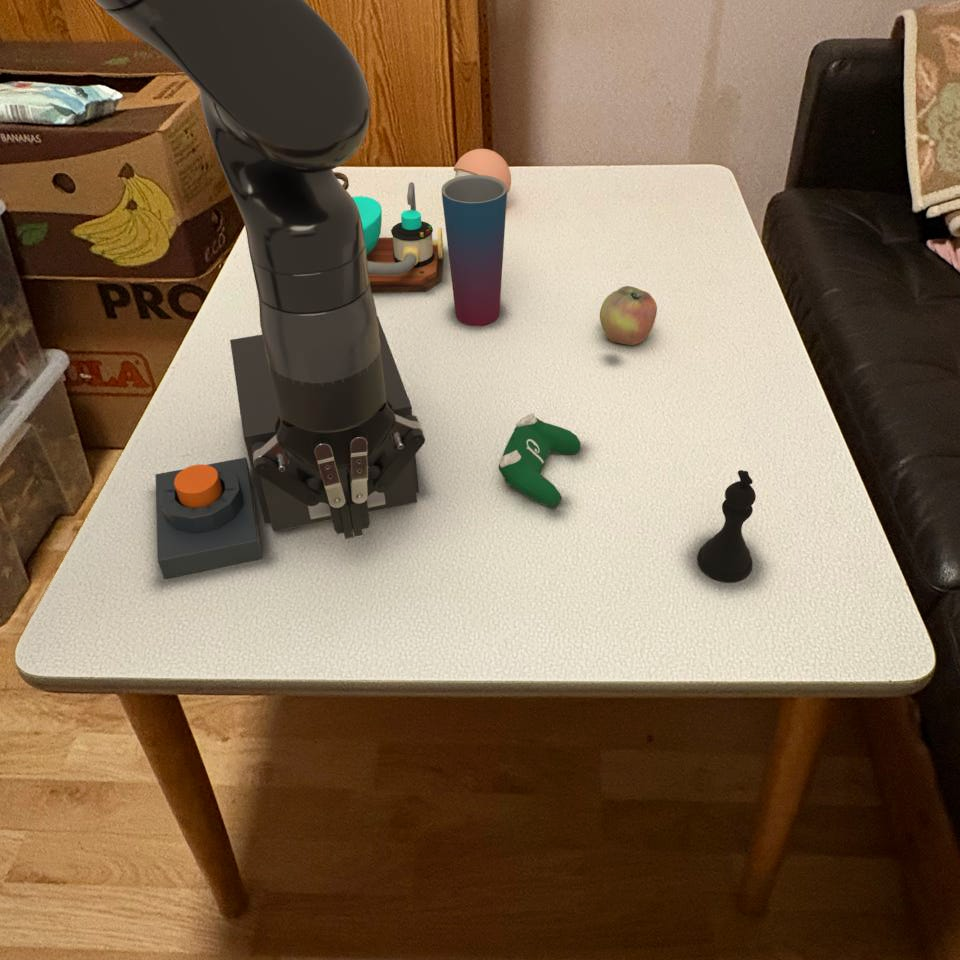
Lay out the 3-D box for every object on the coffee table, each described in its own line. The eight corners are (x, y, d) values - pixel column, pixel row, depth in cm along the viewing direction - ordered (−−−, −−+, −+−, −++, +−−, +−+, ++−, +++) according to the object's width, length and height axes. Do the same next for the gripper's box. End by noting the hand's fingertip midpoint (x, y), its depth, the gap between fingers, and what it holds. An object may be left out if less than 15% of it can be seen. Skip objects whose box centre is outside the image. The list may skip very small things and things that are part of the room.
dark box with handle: (428, 536, 76) (423, 465, 71) (278, 568, 74) (261, 497, 69) (386, 411, 89) (379, 343, 84) (257, 435, 87) (241, 367, 82)
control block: (262, 558, 76) (253, 524, 73) (164, 579, 75) (151, 545, 72) (250, 475, 84) (242, 441, 81) (161, 492, 82) (150, 458, 80)
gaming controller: (557, 457, 88) (515, 415, 86) (586, 440, 85) (543, 397, 83) (532, 522, 81) (485, 478, 79) (562, 505, 79) (515, 460, 77)
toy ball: (441, 209, 124) (438, 152, 119) (478, 190, 128) (477, 134, 123) (486, 226, 120) (486, 168, 115) (523, 205, 124) (523, 148, 119)
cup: (440, 304, 106) (433, 179, 96) (496, 294, 107) (495, 170, 97) (457, 334, 101) (451, 207, 91) (515, 324, 102) (516, 196, 92)
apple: (597, 359, 97) (601, 311, 93) (597, 319, 103) (601, 272, 99) (654, 362, 96) (661, 313, 92) (651, 321, 102) (657, 274, 98)
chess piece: (731, 537, 77) (753, 446, 70) (762, 573, 74) (788, 481, 67) (686, 552, 76) (704, 461, 69) (716, 589, 73) (737, 497, 66)
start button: (223, 503, 76) (219, 487, 75) (179, 512, 75) (174, 496, 74) (221, 475, 78) (216, 460, 77) (178, 484, 78) (173, 468, 77)
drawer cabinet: (419, 492, 82) (411, 406, 75) (265, 523, 79) (243, 437, 73) (386, 398, 92) (377, 315, 86) (249, 423, 90) (229, 339, 83)
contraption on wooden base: (441, 302, 106) (434, 177, 96) (287, 304, 106) (264, 179, 96) (445, 244, 116) (439, 126, 106) (305, 246, 117) (286, 128, 107)
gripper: (225, 395, 57) (273, 582, 68) (433, 359, 59) (444, 546, 71) (218, 332, 62) (263, 515, 73) (408, 302, 64) (423, 483, 76)
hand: (352, 530), depth 72 cm, fingers closed
